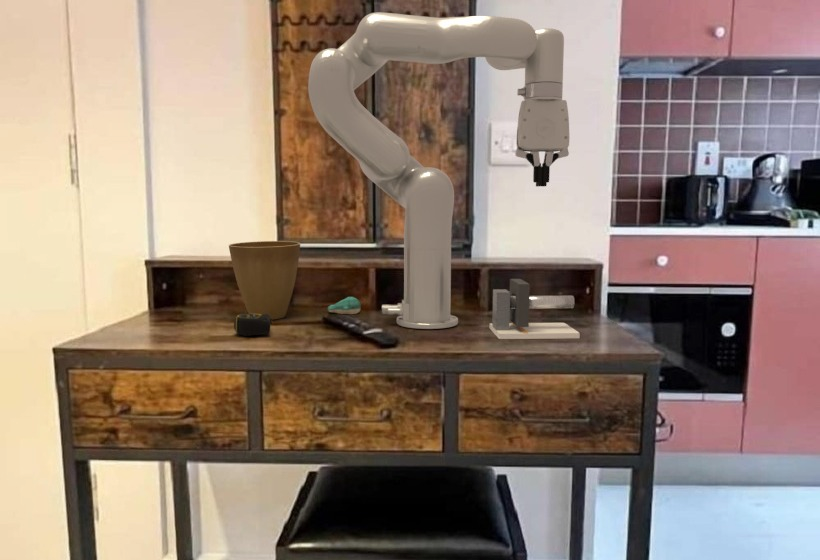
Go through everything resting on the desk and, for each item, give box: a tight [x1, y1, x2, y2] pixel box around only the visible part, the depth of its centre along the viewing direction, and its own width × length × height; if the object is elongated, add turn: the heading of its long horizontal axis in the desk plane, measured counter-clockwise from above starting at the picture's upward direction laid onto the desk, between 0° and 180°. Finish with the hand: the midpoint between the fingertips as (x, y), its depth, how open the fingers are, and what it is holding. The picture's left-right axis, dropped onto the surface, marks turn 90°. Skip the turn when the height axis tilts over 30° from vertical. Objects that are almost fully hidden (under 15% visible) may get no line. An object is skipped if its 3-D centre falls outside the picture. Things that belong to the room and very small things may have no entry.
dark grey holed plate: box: [509, 278, 531, 327], centre depth 124 cm, size 2×8×8 cm, turn 3°
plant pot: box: [228, 240, 301, 321], centre depth 140 cm, size 15×15×16 cm
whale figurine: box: [327, 296, 361, 315], centre depth 146 cm, size 6×7×4 cm
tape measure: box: [233, 313, 273, 337], centre depth 124 cm, size 7×7×4 cm
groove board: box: [489, 322, 581, 340], centre depth 125 cm, size 15×10×1 cm, turn 93°
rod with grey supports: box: [491, 288, 575, 330], centre depth 125 cm, size 15×4×7 cm, turn 93°
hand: (541, 186), depth 134 cm, fingers closed
